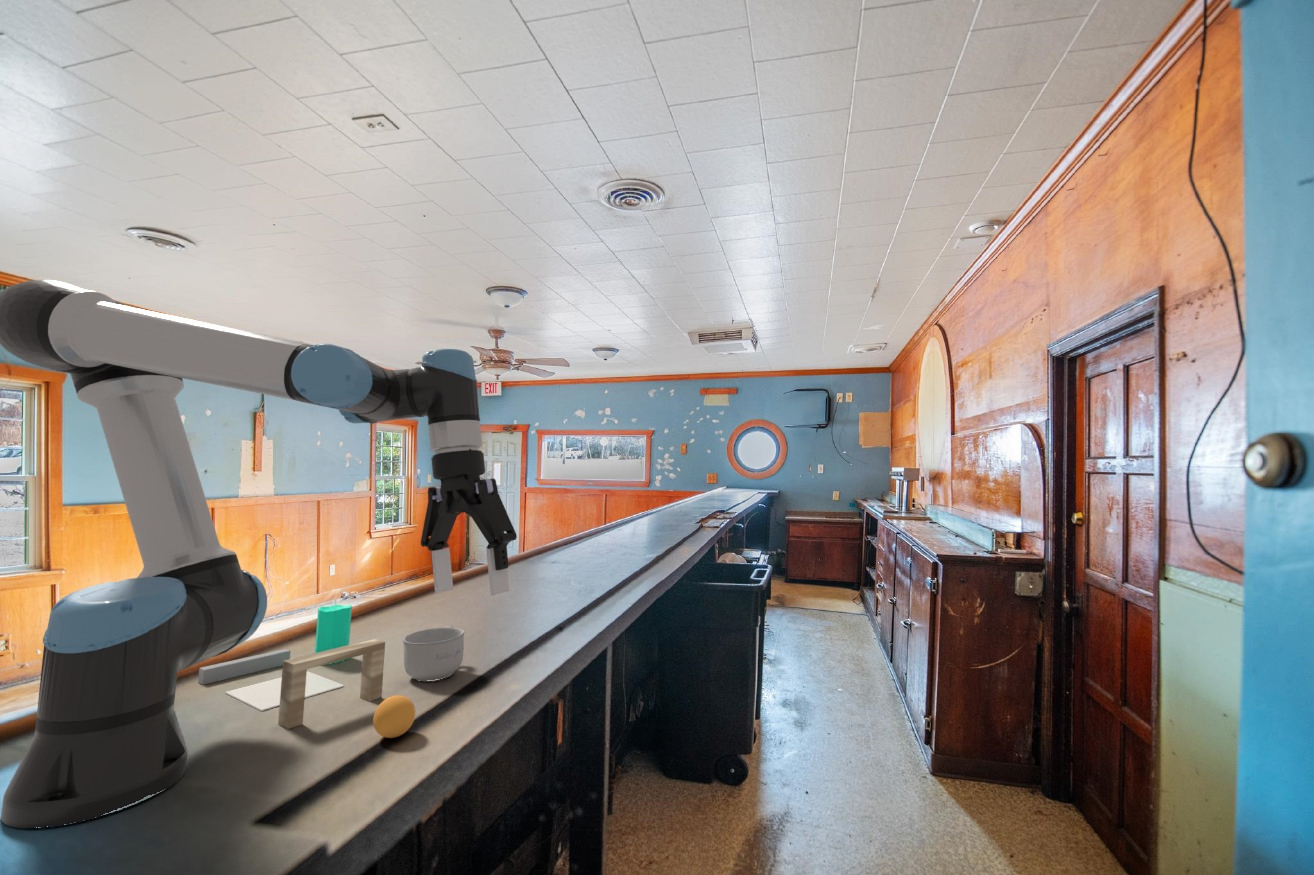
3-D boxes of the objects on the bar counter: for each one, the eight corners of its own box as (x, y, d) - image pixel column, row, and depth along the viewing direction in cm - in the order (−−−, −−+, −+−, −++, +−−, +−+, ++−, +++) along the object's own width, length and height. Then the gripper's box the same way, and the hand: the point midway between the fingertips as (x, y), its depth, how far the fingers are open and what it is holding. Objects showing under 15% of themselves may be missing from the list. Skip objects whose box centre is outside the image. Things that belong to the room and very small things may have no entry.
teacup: (441, 689, 97) (443, 643, 98) (387, 684, 99) (390, 638, 100) (481, 665, 111) (483, 624, 111) (433, 660, 113) (435, 620, 113)
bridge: (381, 697, 93) (385, 642, 94) (288, 729, 80) (293, 664, 81) (371, 693, 94) (374, 639, 95) (278, 724, 82) (283, 660, 83)
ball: (386, 748, 75) (389, 707, 76) (363, 738, 78) (366, 698, 79) (422, 734, 80) (424, 695, 80) (399, 724, 83) (401, 687, 83)
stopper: (202, 684, 96) (204, 670, 97) (198, 682, 98) (199, 667, 98) (289, 663, 108) (290, 650, 109) (284, 661, 109) (285, 648, 110)
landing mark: (261, 711, 86) (261, 710, 86) (225, 693, 93) (225, 692, 93) (344, 686, 97) (344, 685, 97) (306, 671, 104) (306, 670, 104)
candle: (354, 658, 112) (358, 599, 113) (323, 666, 107) (328, 604, 108) (338, 653, 116) (342, 595, 117) (308, 660, 110) (312, 600, 112)
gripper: (531, 439, 79) (547, 587, 78) (432, 460, 94) (444, 585, 92) (488, 440, 73) (504, 600, 72) (390, 462, 88) (401, 596, 86)
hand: (470, 592), depth 82 cm, fingers open, 13 cm apart
